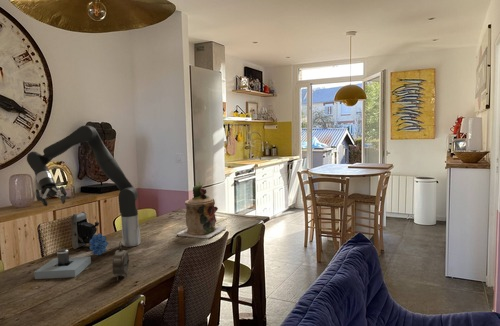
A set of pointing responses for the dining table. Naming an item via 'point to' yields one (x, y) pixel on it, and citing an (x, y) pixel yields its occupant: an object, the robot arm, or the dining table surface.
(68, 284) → the dining table surface
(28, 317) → the dining table surface
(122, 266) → the alarm clock
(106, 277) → the dining table surface
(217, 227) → the cookie jar
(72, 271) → the holder
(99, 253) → the grapes
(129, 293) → the dining table surface
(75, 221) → the vintage camera
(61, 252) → the metal cylinder
